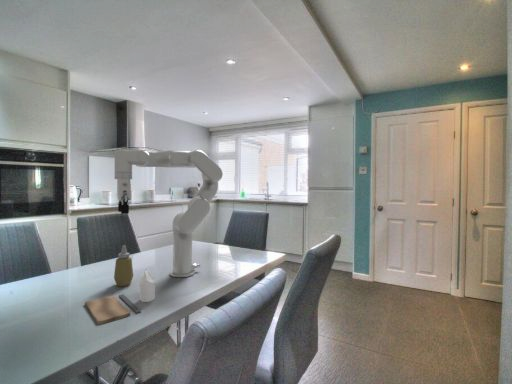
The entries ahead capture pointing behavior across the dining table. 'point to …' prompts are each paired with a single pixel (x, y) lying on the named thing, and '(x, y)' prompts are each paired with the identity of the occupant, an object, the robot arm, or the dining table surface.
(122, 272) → the squeeze bottle
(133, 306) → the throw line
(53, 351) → the dining table surface
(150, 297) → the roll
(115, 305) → the board
